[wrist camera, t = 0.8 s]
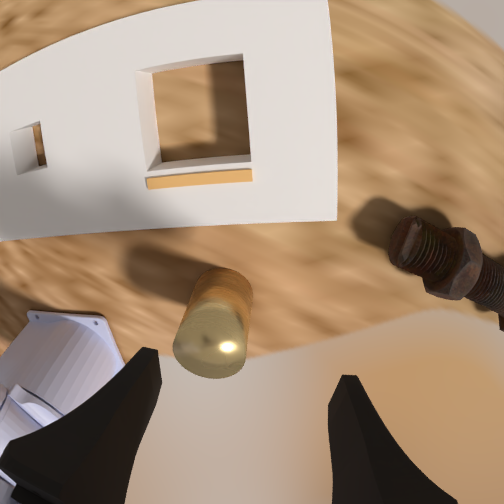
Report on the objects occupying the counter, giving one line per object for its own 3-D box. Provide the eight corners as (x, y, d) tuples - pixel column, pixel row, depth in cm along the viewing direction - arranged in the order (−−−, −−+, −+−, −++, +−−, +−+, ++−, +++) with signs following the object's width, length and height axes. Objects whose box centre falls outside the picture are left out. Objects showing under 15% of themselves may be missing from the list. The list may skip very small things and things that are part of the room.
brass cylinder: (199, 316, 23) (181, 376, 18) (190, 268, 21) (165, 325, 16) (254, 316, 23) (248, 379, 17) (250, 267, 21) (242, 326, 16)
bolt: (387, 206, 20) (511, 276, 21) (366, 277, 20) (497, 331, 21) (436, 189, 15) (558, 277, 16) (414, 281, 14) (544, 341, 15)
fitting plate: (15, 228, 21) (-5, 242, 18) (-10, 88, 16) (-34, 91, 13) (329, 205, 19) (337, 221, 16) (319, 6, 13) (327, -9, 11)
